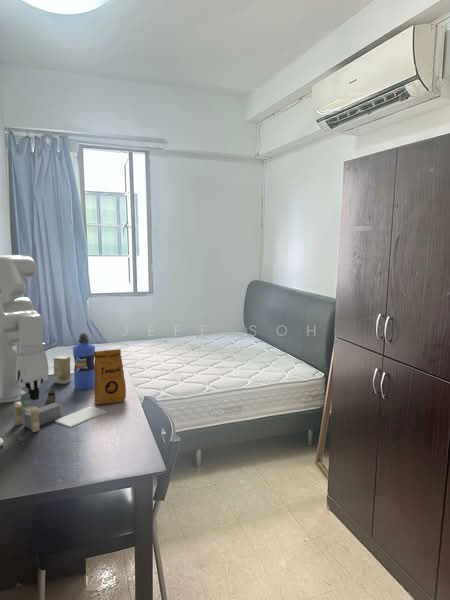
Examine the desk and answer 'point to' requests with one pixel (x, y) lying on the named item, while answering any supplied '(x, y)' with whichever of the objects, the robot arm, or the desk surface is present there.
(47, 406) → the grey block with cap
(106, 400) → the coffee package
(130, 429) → the desk surface
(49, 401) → the hand tool
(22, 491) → the desk surface
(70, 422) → the mat
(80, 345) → the blue bottle
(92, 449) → the desk surface
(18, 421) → the wooden arch block
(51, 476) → the desk surface
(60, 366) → the skincare box
